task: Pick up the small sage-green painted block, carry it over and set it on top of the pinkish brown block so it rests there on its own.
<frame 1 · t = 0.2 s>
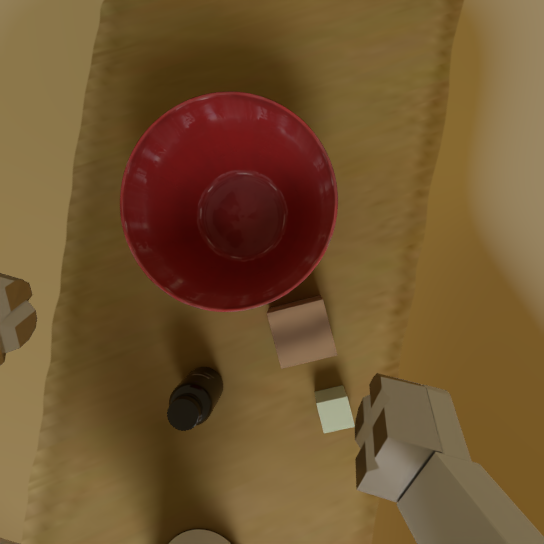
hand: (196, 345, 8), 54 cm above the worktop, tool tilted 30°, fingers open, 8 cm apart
supplement bottle: (204, 384, 64), on the worktop
mixing bowl: (242, 215, 62), on the worktop
pinkish brown block: (301, 326, 63), on the worktop
sage block: (332, 402, 63), on the worktop
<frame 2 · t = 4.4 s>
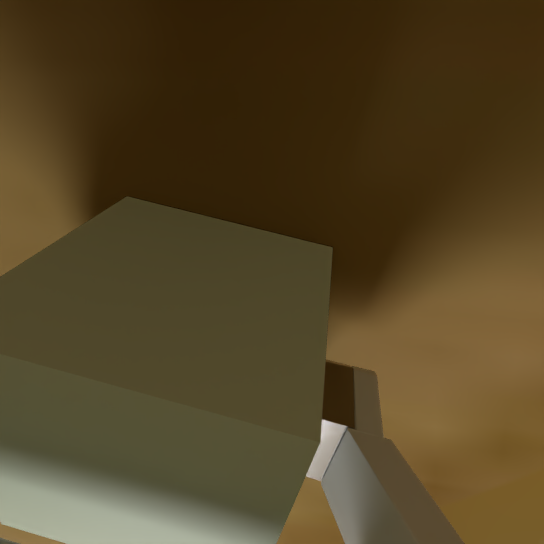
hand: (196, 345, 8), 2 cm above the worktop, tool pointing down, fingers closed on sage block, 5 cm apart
sage block: (217, 305, 10), on the worktop, touching gripper
when the fingers open (9 cm above the worktop, at t = 8.4 s): sage block drops 2 cm, point 6 cm above the worktop.
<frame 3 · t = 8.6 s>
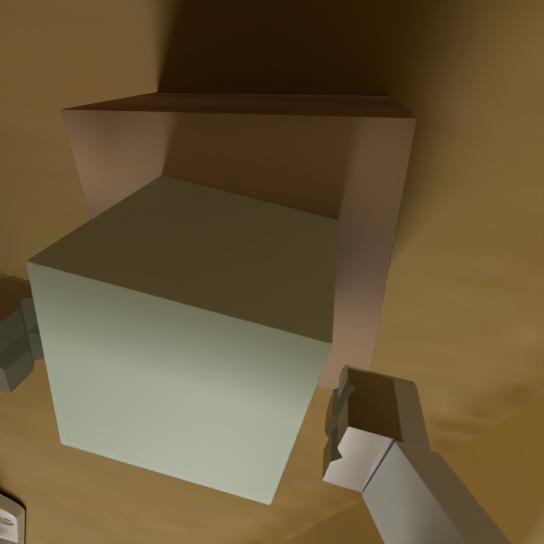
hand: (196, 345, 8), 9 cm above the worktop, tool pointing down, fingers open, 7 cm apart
pinkish brown block: (269, 204, 16), on the worktop
sage block: (235, 273, 11), point 6 cm above the worktop
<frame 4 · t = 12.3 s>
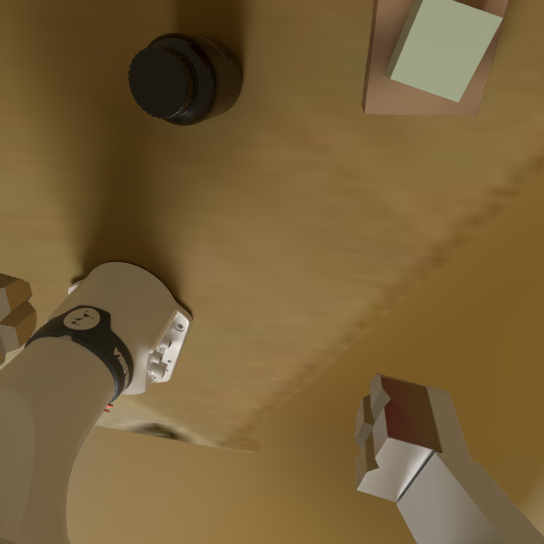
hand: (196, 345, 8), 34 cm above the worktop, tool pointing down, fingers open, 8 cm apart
supplement bottle: (211, 77, 37), on the worktop
pinkish brown block: (418, 53, 33), on the worktop, touching sage block
sage block: (428, 51, 28), point 6 cm above the worktop, touching pinkish brown block
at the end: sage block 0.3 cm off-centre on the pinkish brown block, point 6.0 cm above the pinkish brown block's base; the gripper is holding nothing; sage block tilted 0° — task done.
